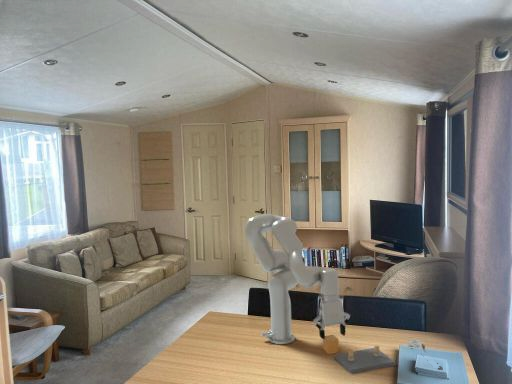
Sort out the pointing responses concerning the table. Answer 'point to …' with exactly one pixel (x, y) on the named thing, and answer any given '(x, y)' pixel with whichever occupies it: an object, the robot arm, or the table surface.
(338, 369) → the table surface
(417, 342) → the adjustable wrench
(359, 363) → the terminal board
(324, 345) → the orange block
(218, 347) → the table surface
